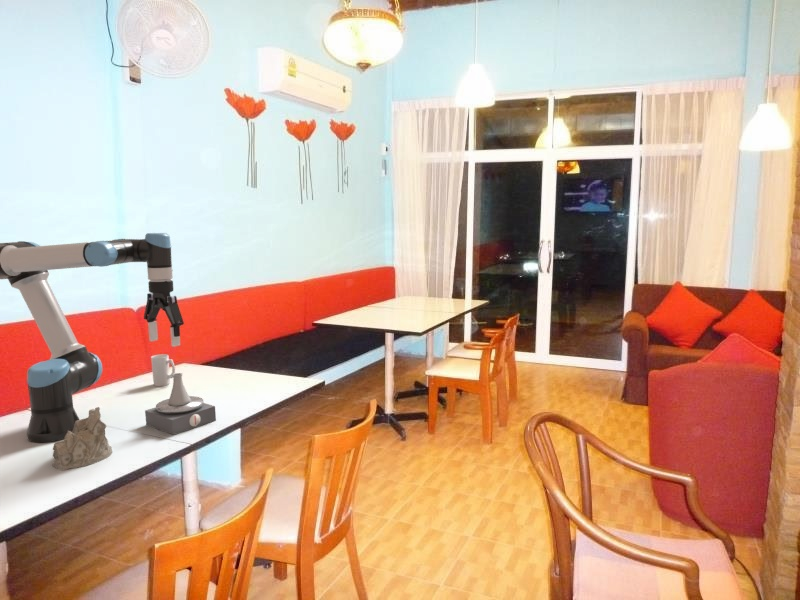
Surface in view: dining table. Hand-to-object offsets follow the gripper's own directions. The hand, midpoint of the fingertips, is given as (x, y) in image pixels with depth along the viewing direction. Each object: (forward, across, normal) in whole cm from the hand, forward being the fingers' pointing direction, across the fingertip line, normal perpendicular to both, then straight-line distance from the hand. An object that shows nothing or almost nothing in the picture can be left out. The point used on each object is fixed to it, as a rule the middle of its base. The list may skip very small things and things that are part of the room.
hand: (164, 343), depth 194 cm
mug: (+28, +42, -24) cm, 56 cm away
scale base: (+27, -5, -1) cm, 27 cm away
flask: (+20, -5, -1) cm, 21 cm away
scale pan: (+21, -5, -1) cm, 22 cm away
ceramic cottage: (+28, -6, +31) cm, 42 cm away
